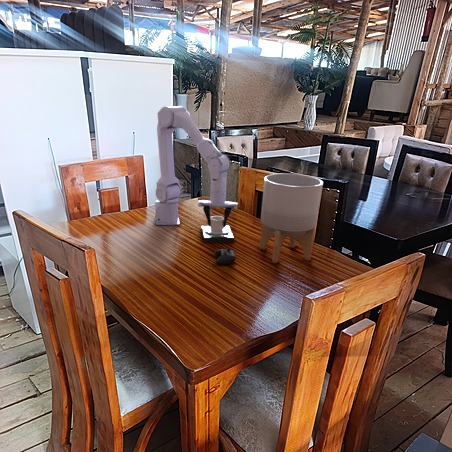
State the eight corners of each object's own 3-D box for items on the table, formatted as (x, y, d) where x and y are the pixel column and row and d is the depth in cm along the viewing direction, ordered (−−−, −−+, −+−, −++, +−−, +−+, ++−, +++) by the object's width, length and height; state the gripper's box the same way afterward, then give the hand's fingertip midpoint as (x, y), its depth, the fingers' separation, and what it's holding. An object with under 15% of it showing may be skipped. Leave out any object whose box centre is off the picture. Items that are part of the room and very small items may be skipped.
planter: (300, 269, 131) (312, 190, 118) (248, 256, 138) (254, 180, 126) (317, 251, 145) (330, 179, 133) (270, 240, 153) (278, 170, 140)
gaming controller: (213, 252, 138) (225, 240, 136) (223, 262, 140) (236, 251, 138) (214, 263, 129) (228, 251, 128) (225, 274, 132) (239, 262, 130)
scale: (204, 242, 148) (204, 236, 147) (201, 230, 159) (201, 224, 158) (233, 242, 149) (233, 236, 148) (228, 230, 161) (228, 224, 159)
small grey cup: (209, 231, 152) (209, 219, 149) (210, 226, 156) (211, 215, 154) (223, 232, 151) (223, 220, 149) (224, 227, 156) (224, 216, 154)
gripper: (238, 188, 150) (236, 223, 156) (200, 186, 150) (199, 221, 157) (237, 193, 144) (235, 229, 150) (197, 191, 144) (197, 227, 151)
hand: (217, 225), depth 153 cm, fingers closed on small grey cup, 5 cm apart
